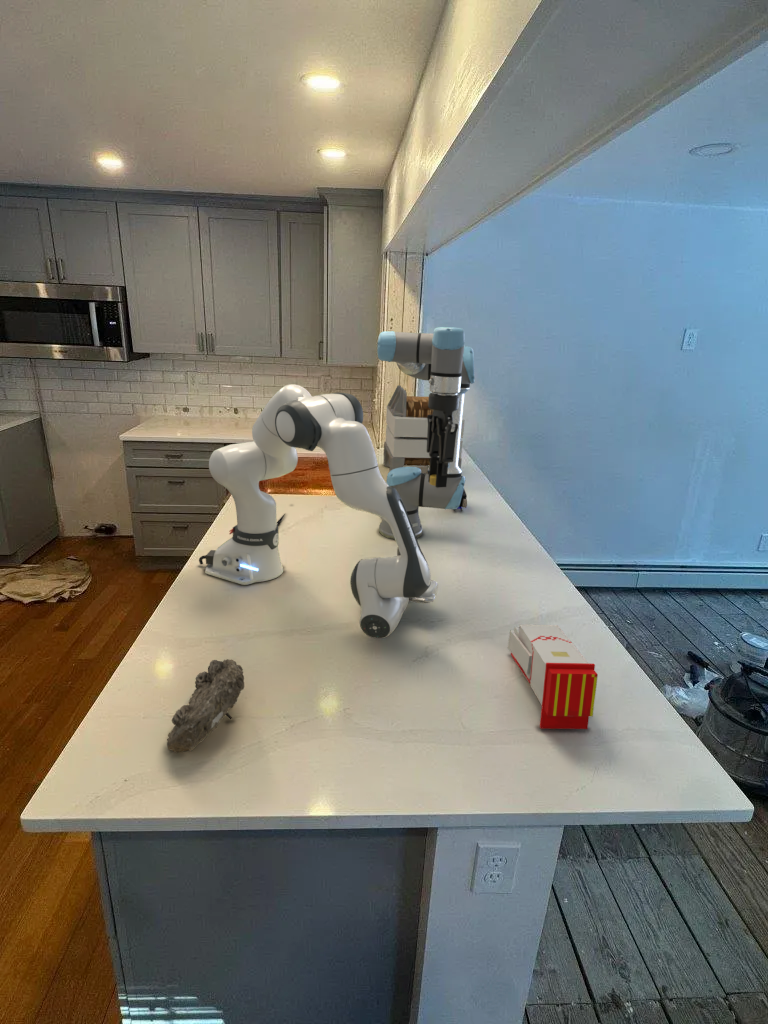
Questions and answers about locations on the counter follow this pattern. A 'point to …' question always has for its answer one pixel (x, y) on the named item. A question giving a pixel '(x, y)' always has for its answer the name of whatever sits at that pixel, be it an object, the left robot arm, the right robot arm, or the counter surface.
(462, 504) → the figurine character
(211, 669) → the grey elongated lump
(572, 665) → the toy
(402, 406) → the transformer
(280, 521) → the feather
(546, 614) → the counter surface
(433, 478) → the cap
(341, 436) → the left robot arm
